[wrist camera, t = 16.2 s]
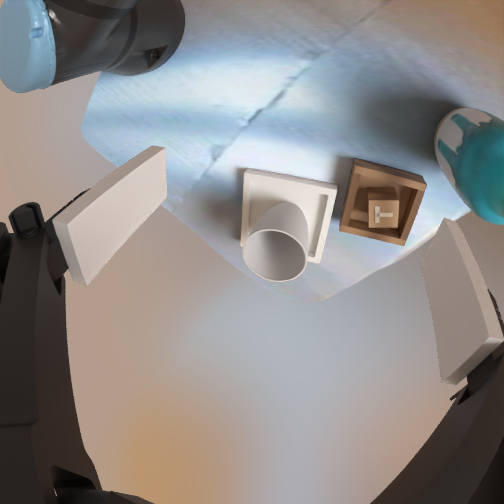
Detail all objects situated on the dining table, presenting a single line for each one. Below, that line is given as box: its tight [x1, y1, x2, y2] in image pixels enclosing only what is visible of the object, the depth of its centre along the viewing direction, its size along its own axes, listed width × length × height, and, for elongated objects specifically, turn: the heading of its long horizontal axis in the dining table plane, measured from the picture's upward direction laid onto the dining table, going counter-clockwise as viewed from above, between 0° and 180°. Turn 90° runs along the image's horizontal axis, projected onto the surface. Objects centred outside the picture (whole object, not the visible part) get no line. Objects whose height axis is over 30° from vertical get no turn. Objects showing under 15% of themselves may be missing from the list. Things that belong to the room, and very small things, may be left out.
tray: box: [240, 168, 337, 264], centre depth 44 cm, size 13×13×2 cm
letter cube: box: [367, 187, 399, 228], centre depth 37 cm, size 4×4×4 cm
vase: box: [434, 108, 504, 225], centre depth 23 cm, size 11×11×19 cm
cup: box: [243, 202, 309, 282], centre depth 41 cm, size 8×8×10 cm
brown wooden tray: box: [339, 158, 427, 246], centre depth 38 cm, size 10×10×3 cm
